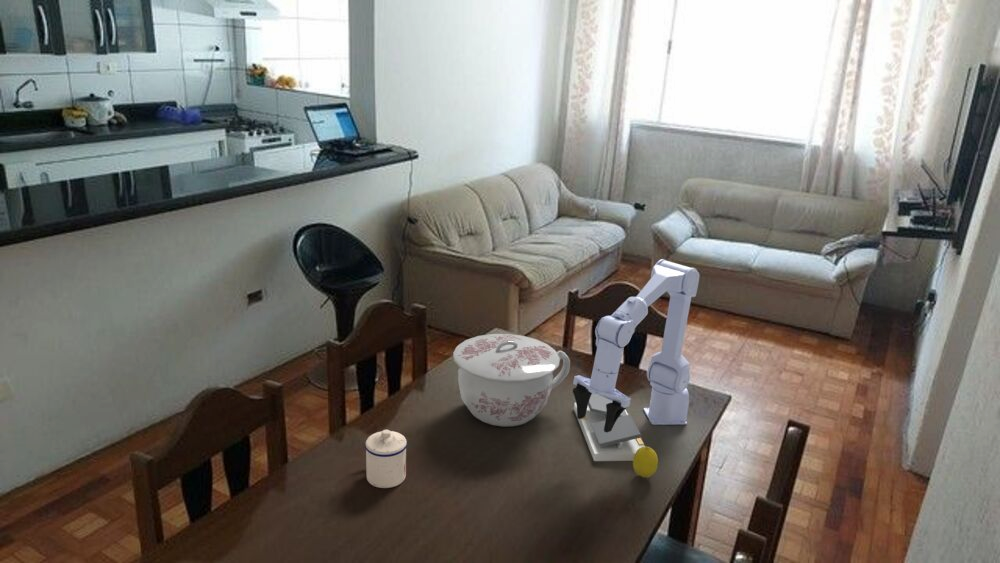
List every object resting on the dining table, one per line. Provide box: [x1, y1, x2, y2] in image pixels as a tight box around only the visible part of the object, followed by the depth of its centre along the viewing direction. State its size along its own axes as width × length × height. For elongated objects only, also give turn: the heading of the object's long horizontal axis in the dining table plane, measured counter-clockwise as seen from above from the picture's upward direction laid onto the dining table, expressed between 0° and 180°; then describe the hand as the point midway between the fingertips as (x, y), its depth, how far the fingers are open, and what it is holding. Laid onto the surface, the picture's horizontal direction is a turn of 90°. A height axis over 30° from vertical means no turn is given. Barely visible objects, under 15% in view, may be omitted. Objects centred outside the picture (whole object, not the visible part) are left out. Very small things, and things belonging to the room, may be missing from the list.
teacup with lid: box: [364, 429, 408, 489], centre depth 154 cm, size 12×9×12 cm
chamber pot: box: [452, 333, 571, 427], centre depth 180 cm, size 28×28×21 cm
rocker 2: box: [591, 413, 642, 447], centre depth 169 cm, size 10×10×2 cm
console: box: [573, 402, 646, 462], centre depth 176 cm, size 13×24×3 cm, turn 6°
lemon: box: [632, 446, 659, 478], centre depth 158 cm, size 6×6×8 cm
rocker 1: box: [588, 393, 627, 417], centre depth 181 cm, size 10×10×2 cm
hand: (594, 424), depth 160 cm, fingers open, 7 cm apart
